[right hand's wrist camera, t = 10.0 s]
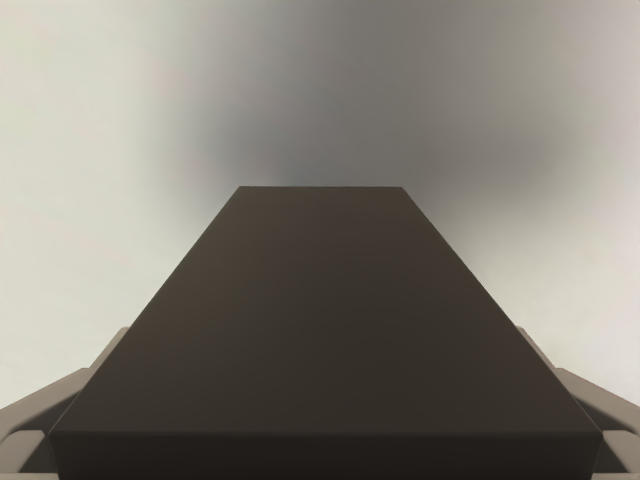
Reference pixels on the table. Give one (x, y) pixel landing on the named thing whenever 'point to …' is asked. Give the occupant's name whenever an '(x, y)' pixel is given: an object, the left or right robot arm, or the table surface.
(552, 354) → the table surface
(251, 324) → the box
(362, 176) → the table surface
